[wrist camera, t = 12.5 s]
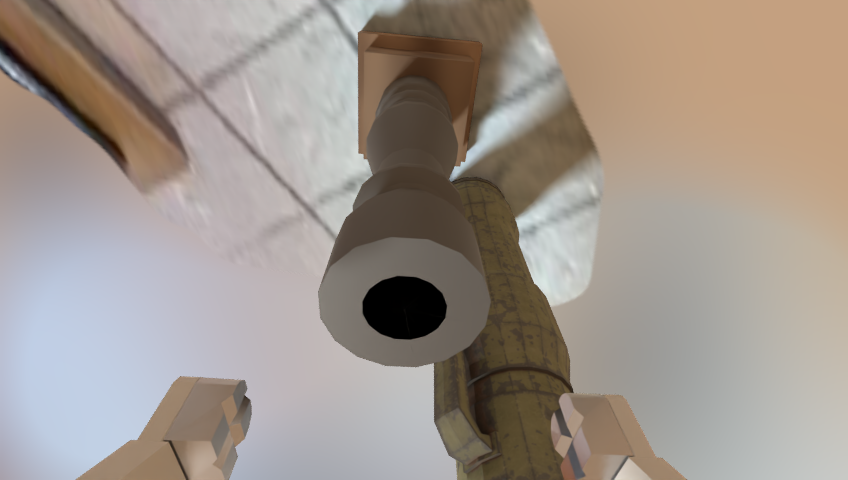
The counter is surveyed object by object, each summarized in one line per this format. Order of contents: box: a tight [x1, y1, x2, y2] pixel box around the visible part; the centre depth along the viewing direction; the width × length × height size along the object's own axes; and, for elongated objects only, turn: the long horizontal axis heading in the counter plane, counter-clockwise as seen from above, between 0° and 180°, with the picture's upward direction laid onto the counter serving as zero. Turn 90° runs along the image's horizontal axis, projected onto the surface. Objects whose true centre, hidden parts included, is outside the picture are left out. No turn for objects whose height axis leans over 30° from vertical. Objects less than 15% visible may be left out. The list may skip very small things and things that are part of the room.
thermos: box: [434, 178, 574, 480], centre depth 31 cm, size 9×12×35 cm
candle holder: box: [318, 75, 491, 367], centre depth 24 cm, size 6×6×25 cm
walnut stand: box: [358, 31, 482, 166], centre depth 37 cm, size 11×11×6 cm
